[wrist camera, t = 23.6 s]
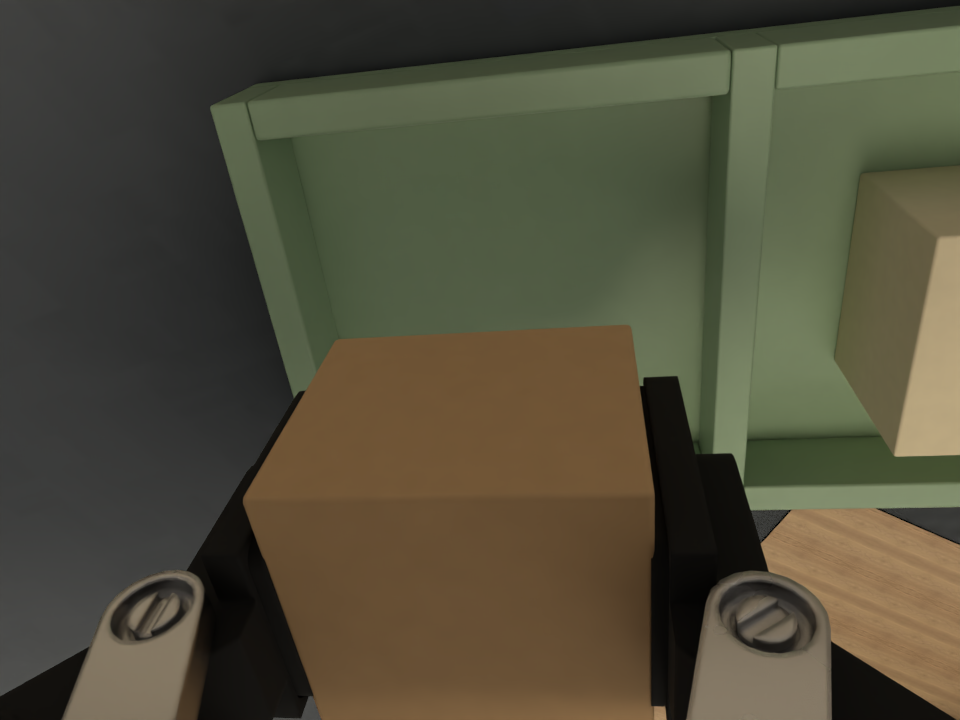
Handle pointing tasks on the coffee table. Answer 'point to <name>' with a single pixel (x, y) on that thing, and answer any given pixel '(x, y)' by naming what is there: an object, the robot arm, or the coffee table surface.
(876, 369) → the tan rectangular block
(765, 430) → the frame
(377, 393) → the brown block
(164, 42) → the coffee table surface
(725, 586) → the robot arm
